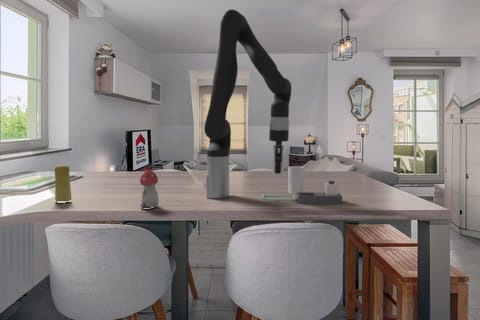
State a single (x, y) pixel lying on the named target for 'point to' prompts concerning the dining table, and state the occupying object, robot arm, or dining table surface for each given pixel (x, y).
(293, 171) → the mug
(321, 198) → the grey rectangular frame
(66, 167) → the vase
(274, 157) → the plug
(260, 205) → the dining table surface
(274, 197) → the tray
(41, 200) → the dining table surface
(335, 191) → the twin plug
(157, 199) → the decorative ornament
